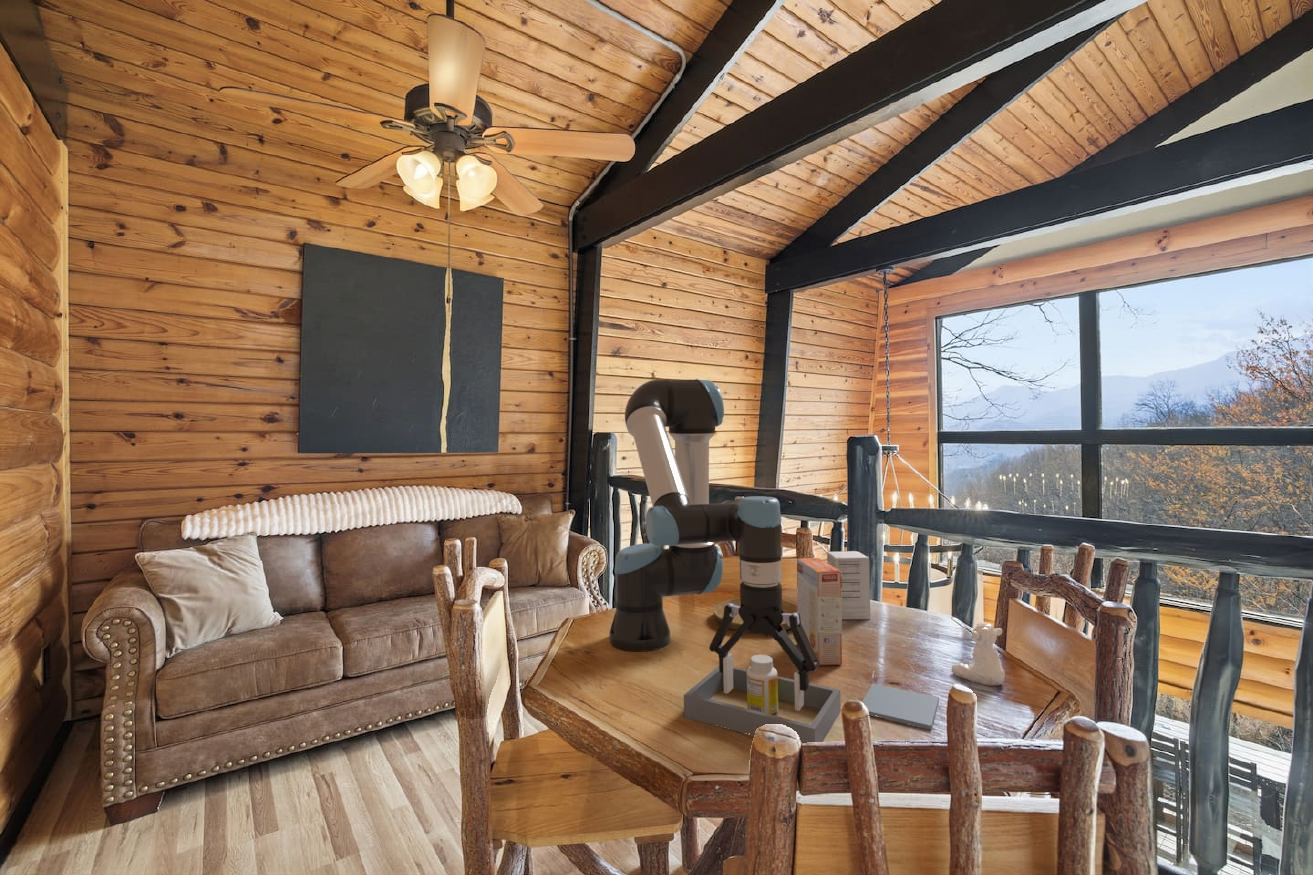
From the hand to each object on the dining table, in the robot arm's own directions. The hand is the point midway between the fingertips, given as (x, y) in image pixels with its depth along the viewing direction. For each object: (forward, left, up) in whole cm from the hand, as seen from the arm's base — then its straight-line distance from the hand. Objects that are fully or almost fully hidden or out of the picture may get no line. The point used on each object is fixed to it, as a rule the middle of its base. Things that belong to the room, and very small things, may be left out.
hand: (762, 698), depth 105 cm
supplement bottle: (0, 0, -3) cm, 3 cm away
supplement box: (0, +65, -3) cm, 65 cm away
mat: (+21, +15, -3) cm, 26 cm away
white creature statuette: (+34, +36, -3) cm, 50 cm away
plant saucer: (-20, +48, -3) cm, 52 cm away
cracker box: (+1, +33, -3) cm, 33 cm away
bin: (0, 0, -3) cm, 3 cm away
